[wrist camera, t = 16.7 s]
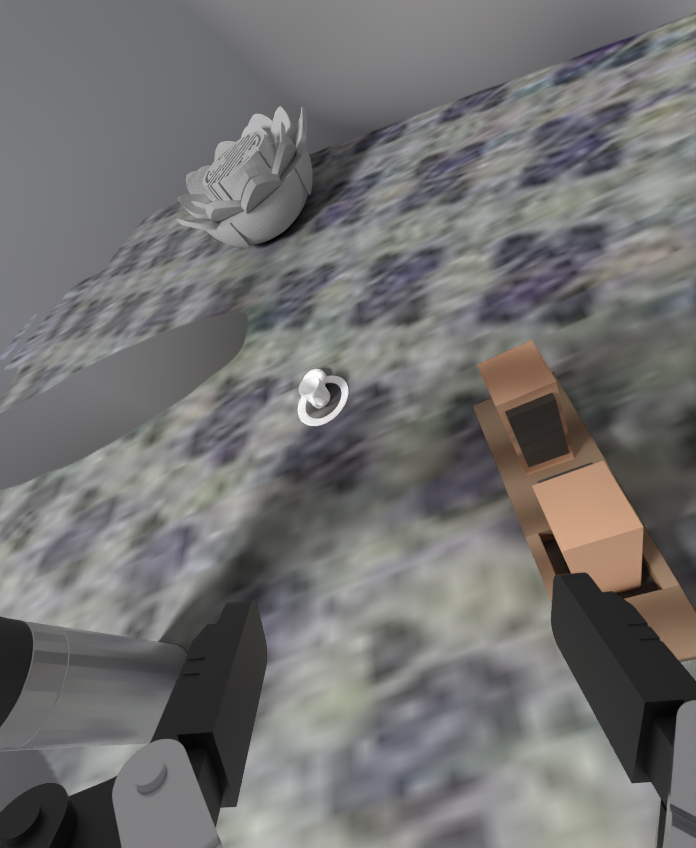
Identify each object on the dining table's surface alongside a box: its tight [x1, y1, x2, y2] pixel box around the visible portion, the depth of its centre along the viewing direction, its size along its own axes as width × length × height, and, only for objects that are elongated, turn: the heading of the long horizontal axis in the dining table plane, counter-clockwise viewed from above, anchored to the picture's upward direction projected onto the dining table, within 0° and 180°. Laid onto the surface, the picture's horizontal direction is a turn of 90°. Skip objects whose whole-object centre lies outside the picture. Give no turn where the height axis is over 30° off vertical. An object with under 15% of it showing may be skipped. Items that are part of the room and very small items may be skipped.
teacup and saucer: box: [298, 369, 349, 426], centre depth 58 cm, size 9×8×4 cm
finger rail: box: [473, 340, 696, 662], centre depth 32 cm, size 24×8×14 cm, turn 8°
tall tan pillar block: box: [532, 461, 643, 594], centre depth 29 cm, size 5×4×14 cm
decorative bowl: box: [176, 107, 313, 248], centre depth 88 cm, size 30×30×15 cm
